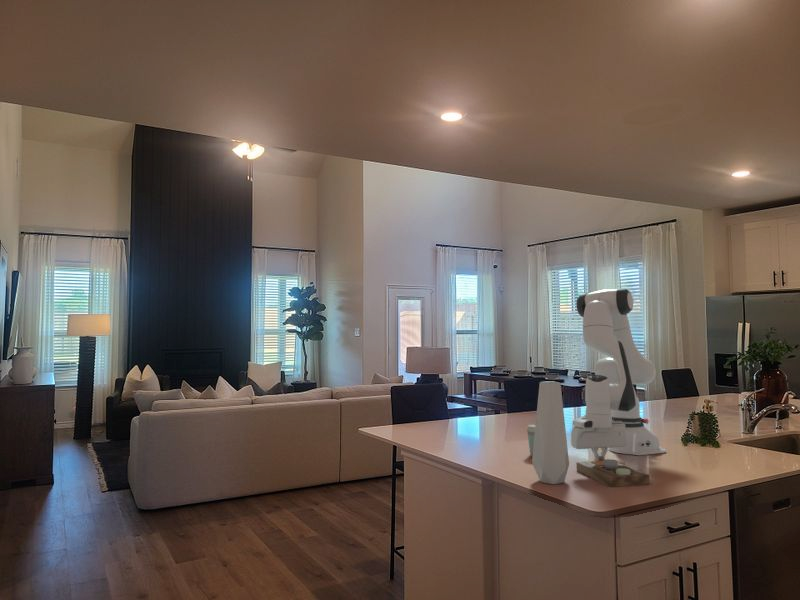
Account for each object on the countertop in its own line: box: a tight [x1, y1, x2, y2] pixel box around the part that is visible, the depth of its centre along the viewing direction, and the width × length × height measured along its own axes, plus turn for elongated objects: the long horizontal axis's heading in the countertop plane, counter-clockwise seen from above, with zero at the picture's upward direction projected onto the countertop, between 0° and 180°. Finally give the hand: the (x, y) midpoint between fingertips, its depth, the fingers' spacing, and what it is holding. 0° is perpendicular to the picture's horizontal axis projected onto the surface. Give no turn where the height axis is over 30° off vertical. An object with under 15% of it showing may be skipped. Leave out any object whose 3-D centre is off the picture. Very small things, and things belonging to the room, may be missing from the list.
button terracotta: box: [593, 458, 604, 465], centre depth 197 cm, size 4×4×3 cm
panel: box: [576, 460, 651, 488], centre depth 190 cm, size 14×22×3 cm, turn 11°
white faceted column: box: [531, 381, 570, 485], centre depth 186 cm, size 12×12×33 cm
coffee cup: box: [526, 423, 536, 457], centre depth 224 cm, size 9×8×12 cm
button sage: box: [616, 468, 630, 475], centre depth 183 cm, size 4×4×3 cm
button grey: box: [604, 458, 619, 470], centre depth 190 cm, size 4×4×3 cm
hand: (599, 460), depth 197 cm, fingers closed, pressing on button terracotta
